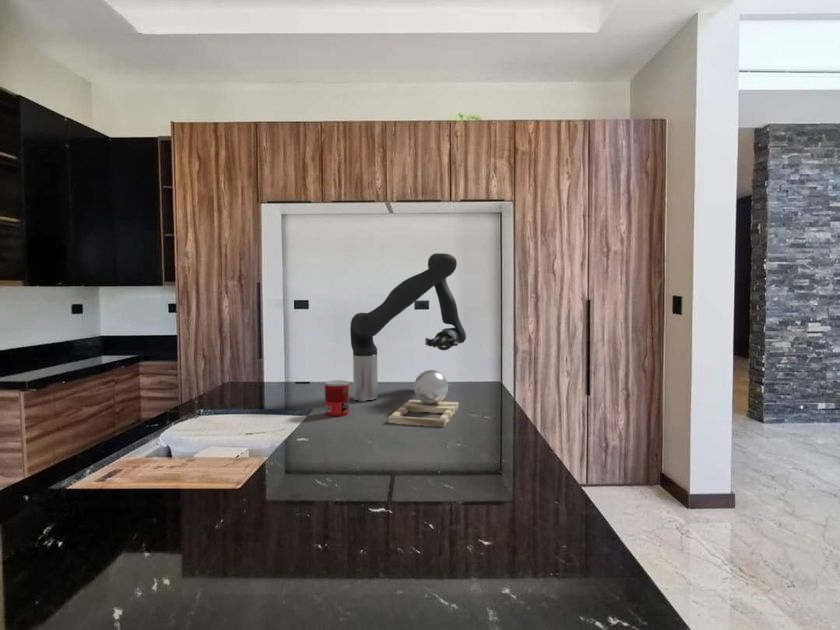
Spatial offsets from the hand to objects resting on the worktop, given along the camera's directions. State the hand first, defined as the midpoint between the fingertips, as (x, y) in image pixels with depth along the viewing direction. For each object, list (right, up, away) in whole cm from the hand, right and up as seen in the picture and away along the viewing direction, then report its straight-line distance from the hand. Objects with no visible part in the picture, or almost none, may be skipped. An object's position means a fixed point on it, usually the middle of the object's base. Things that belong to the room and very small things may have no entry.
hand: (436, 344), depth 190 cm
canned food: (-34, -23, -13) cm, 43 cm away
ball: (-2, -15, -8) cm, 17 cm away
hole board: (-4, -23, -15) cm, 28 cm away
